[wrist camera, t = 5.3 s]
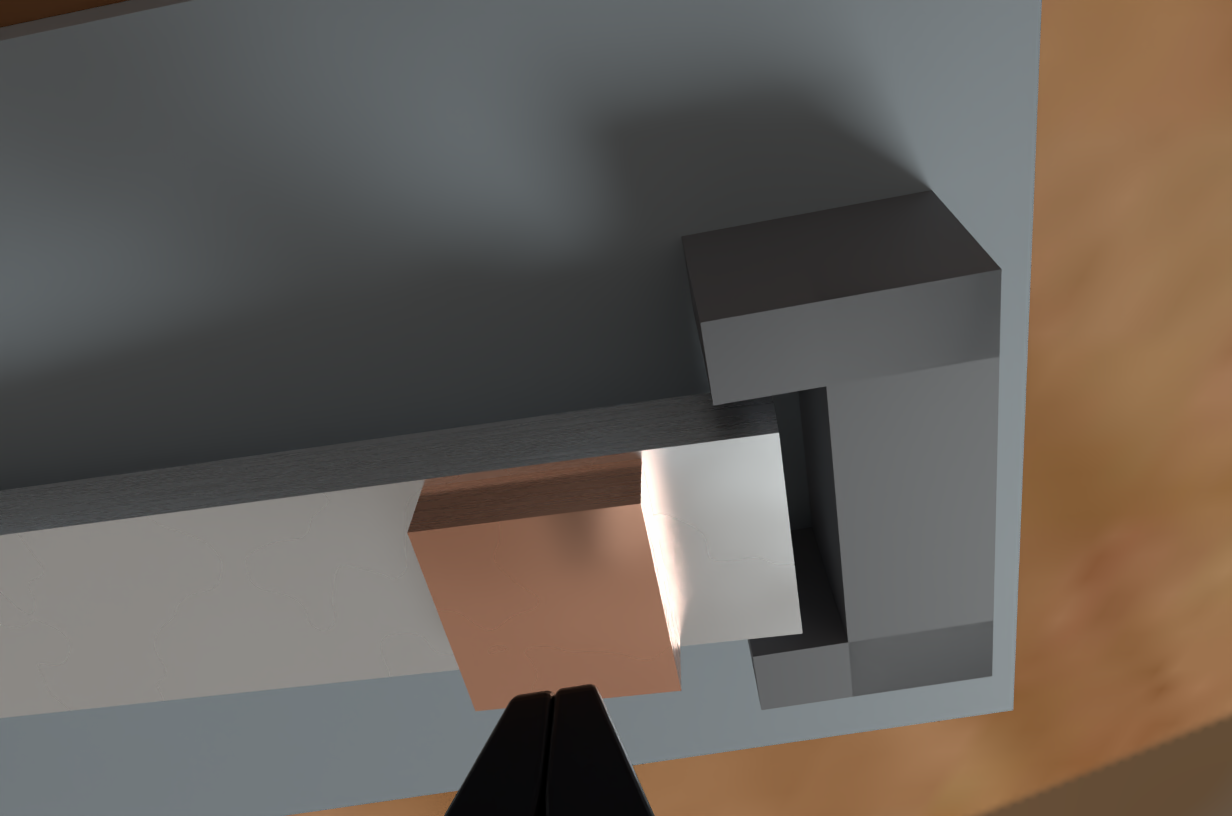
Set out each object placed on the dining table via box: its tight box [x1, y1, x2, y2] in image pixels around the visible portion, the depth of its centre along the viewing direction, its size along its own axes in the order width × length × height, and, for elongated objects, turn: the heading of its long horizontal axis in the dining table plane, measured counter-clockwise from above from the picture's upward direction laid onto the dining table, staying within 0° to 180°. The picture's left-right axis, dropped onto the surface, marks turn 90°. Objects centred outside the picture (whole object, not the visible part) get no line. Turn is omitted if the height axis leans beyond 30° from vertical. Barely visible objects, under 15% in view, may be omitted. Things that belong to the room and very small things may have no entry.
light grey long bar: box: [0, 392, 802, 718], centre depth 12 cm, size 15×3×2 cm, turn 101°
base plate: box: [0, 0, 1042, 816], centre depth 13 cm, size 20×13×4 cm, turn 101°
